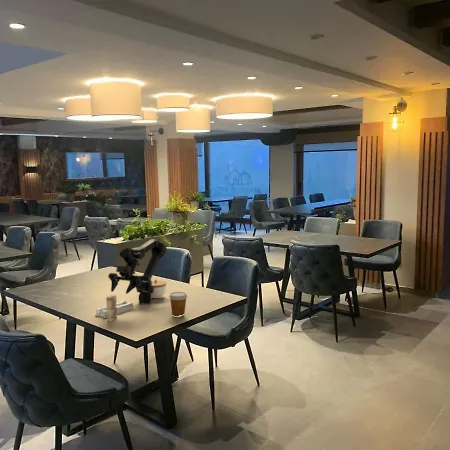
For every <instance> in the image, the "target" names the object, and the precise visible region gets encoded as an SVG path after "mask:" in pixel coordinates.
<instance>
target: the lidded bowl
mask: <svg viewBox="0 0 450 450" xmlns="http://www.w3.org/2000/svg"><path fill="white" fill-rule="evenodd" d="M151 281H152V286H153V288H154V292H153V293H151V298H160V299H162V298H161V297H164V295H165V294H166V290H167V282H166V281H164V280H159V279H158V280H157V279H154V280H151Z"/></svg>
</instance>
